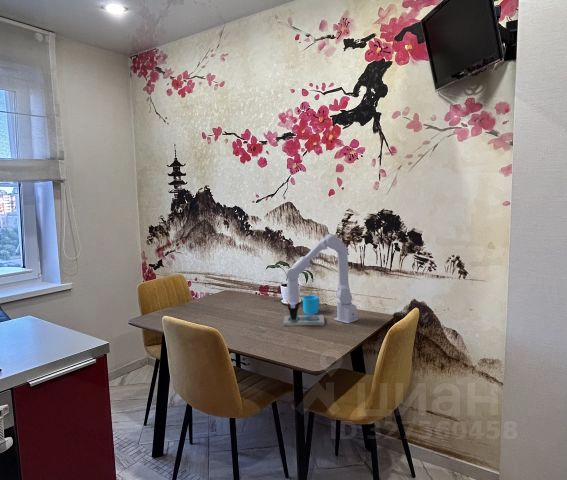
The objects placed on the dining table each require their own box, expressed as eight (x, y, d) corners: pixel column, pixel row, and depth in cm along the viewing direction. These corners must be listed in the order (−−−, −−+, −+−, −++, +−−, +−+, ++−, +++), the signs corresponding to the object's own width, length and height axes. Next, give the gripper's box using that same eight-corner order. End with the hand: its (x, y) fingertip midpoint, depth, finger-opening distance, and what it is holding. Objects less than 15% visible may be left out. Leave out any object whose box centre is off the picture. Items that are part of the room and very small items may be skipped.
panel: (323, 317, 205) (323, 315, 205) (324, 325, 195) (324, 322, 194) (284, 318, 206) (284, 315, 206) (283, 325, 196) (283, 322, 195)
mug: (312, 315, 211) (312, 300, 210) (300, 312, 216) (299, 297, 215) (325, 309, 220) (324, 295, 219) (313, 307, 225) (312, 293, 224)
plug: (297, 320, 203) (297, 307, 202) (297, 323, 199) (297, 309, 198) (290, 320, 203) (289, 307, 202) (289, 323, 199) (289, 310, 198)
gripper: (285, 288, 206) (286, 313, 208) (284, 295, 192) (285, 322, 193) (299, 287, 206) (300, 313, 208) (299, 295, 191) (299, 322, 193)
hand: (293, 318), depth 200 cm, fingers closed on plug, 4 cm apart
